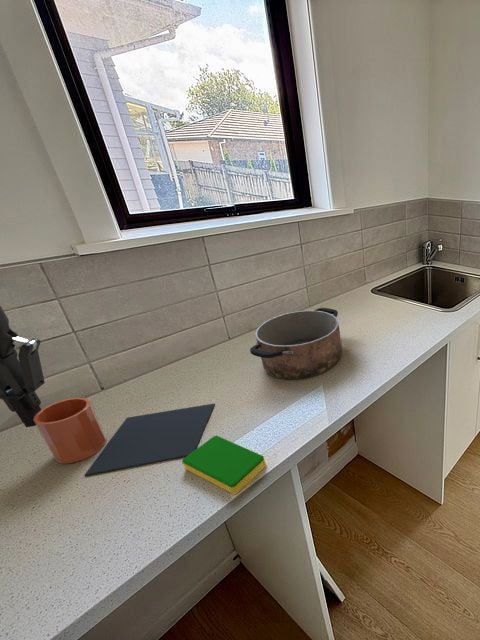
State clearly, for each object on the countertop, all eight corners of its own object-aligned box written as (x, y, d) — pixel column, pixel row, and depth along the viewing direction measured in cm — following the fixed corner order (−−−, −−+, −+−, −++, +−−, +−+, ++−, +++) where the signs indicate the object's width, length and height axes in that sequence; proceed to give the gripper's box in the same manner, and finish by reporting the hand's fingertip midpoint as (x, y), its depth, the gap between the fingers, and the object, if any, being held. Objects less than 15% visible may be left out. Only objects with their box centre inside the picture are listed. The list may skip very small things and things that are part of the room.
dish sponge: (235, 495, 59) (231, 486, 58) (184, 469, 64) (180, 460, 63) (267, 465, 65) (264, 456, 64) (218, 443, 70) (215, 434, 69)
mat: (85, 476, 63) (84, 474, 63) (127, 418, 77) (126, 417, 76) (193, 455, 67) (193, 453, 67) (215, 404, 81) (214, 403, 81)
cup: (45, 466, 64) (21, 426, 60) (70, 438, 71) (51, 400, 66) (93, 459, 66) (74, 420, 62) (114, 432, 73) (98, 395, 69)
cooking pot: (300, 397, 84) (292, 360, 79) (234, 377, 91) (223, 343, 86) (362, 342, 109) (360, 312, 104) (307, 330, 116) (302, 301, 111)
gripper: (-121, 323, 49) (-26, 443, 59) (-7, 313, 52) (64, 428, 62) (-68, 303, 55) (9, 414, 65) (30, 296, 58) (89, 403, 68)
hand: (36, 421), depth 64 cm, fingers closed
